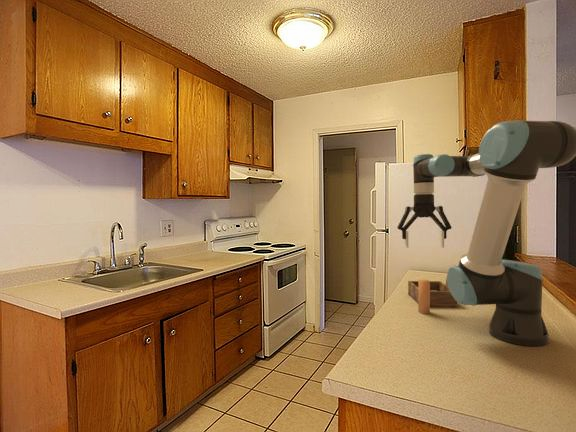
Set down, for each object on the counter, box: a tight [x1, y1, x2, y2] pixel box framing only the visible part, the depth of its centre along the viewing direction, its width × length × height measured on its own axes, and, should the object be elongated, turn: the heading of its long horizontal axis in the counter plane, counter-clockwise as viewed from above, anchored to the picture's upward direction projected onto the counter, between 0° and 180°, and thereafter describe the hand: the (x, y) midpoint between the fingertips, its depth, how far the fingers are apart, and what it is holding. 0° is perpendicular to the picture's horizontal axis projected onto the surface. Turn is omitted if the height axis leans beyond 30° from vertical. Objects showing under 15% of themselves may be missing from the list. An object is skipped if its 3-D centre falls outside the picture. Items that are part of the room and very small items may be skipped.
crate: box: [407, 280, 458, 308], centre depth 142 cm, size 18×14×6 cm
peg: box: [417, 279, 431, 315], centre depth 127 cm, size 4×4×12 cm
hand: (424, 247), depth 134 cm, fingers open, 13 cm apart
